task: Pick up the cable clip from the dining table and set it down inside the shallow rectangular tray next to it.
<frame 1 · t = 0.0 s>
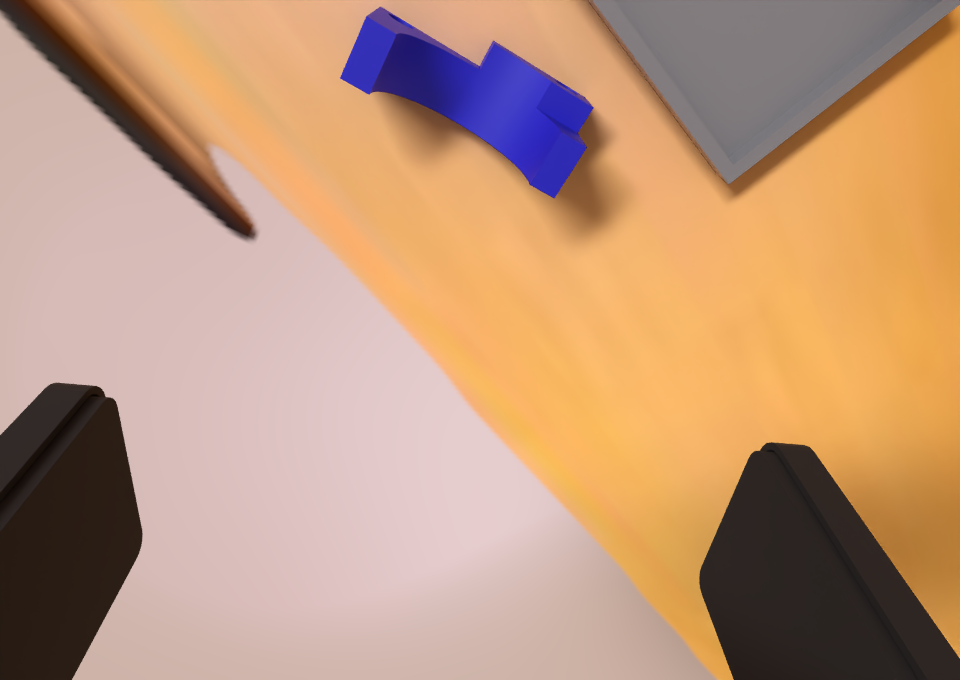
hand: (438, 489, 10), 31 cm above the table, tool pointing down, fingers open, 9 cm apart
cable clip: (472, 78, 37), on the table
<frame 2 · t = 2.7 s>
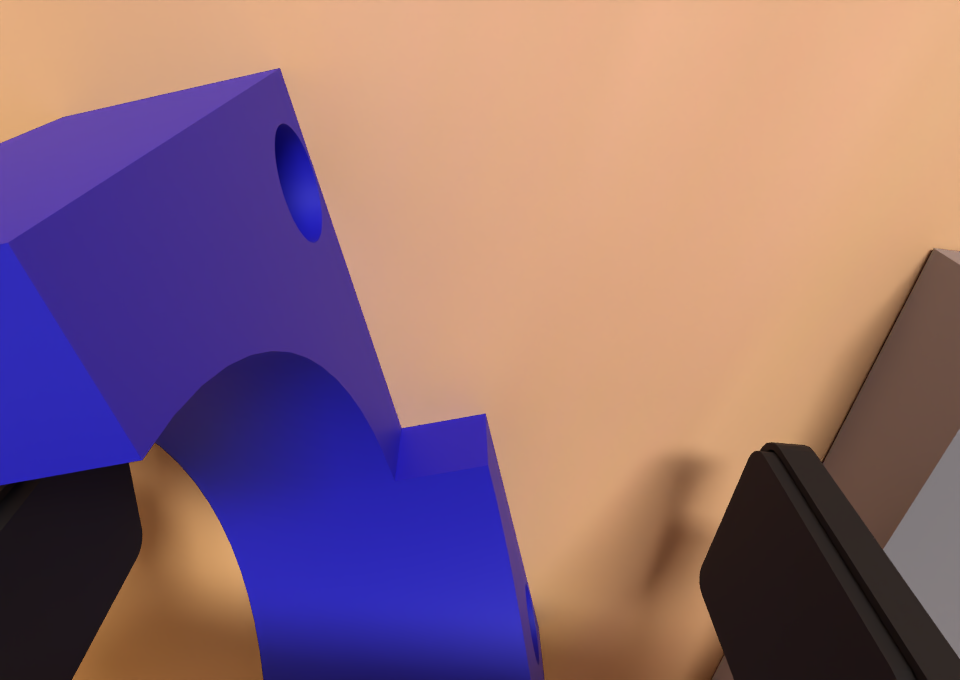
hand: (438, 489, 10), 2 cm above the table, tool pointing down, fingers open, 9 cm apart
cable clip: (362, 422, 12), on the table
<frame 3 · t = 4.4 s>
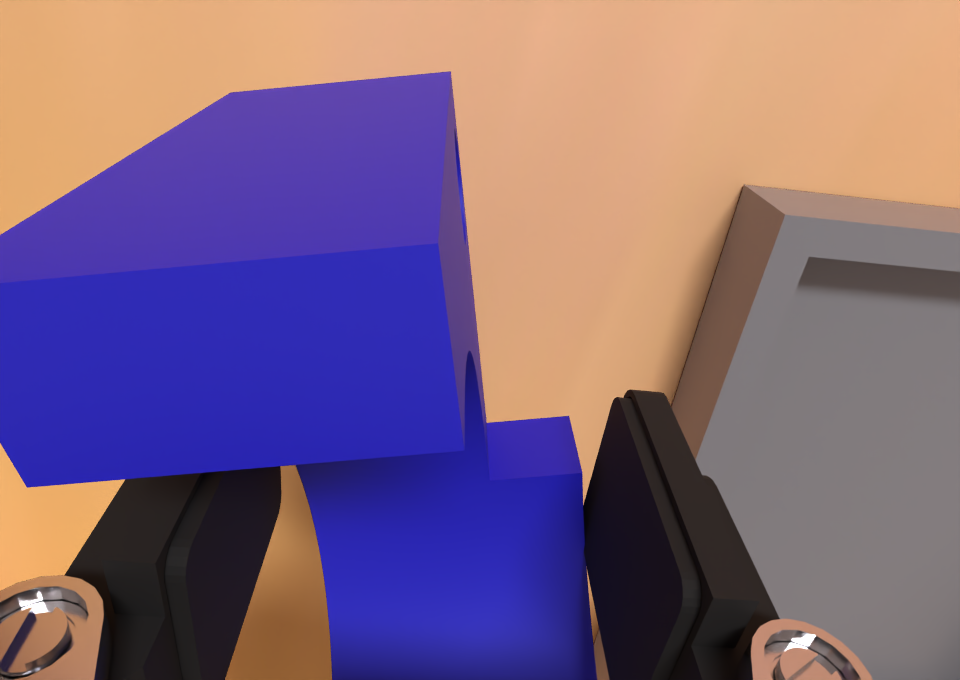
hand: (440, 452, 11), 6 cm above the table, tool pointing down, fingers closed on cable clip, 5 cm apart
shallow rectangular tray: (869, 503, 20), on the table
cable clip: (445, 419, 12), point 4 cm above the table, touching gripper
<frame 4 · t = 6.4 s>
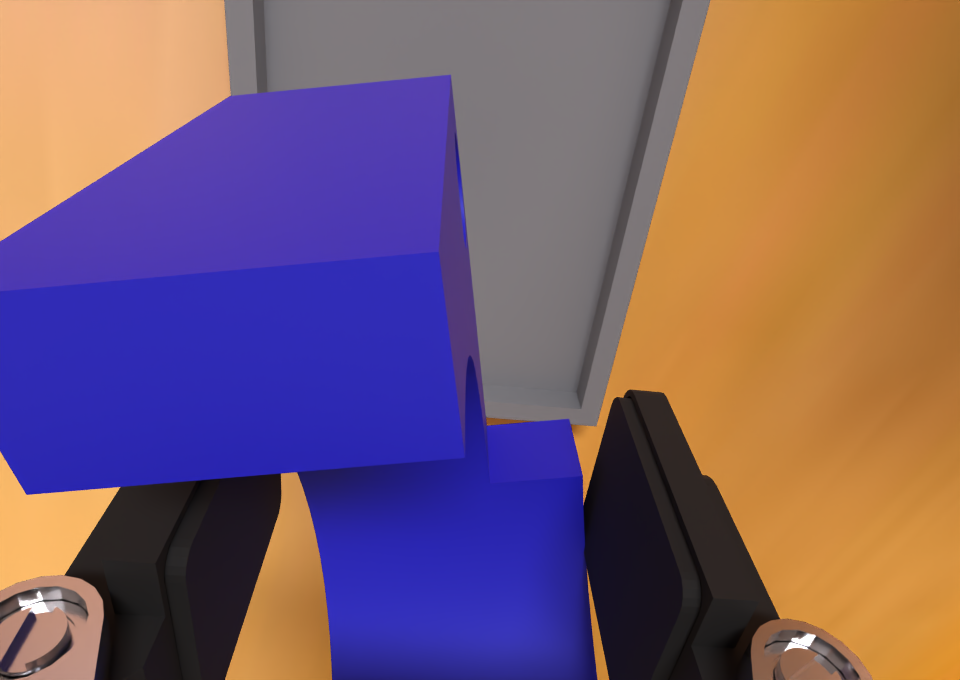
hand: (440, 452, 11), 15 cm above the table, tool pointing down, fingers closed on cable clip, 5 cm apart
shallow rectangular tray: (450, 181, 24), on the table
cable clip: (445, 422, 12), point 14 cm above the table, touching gripper
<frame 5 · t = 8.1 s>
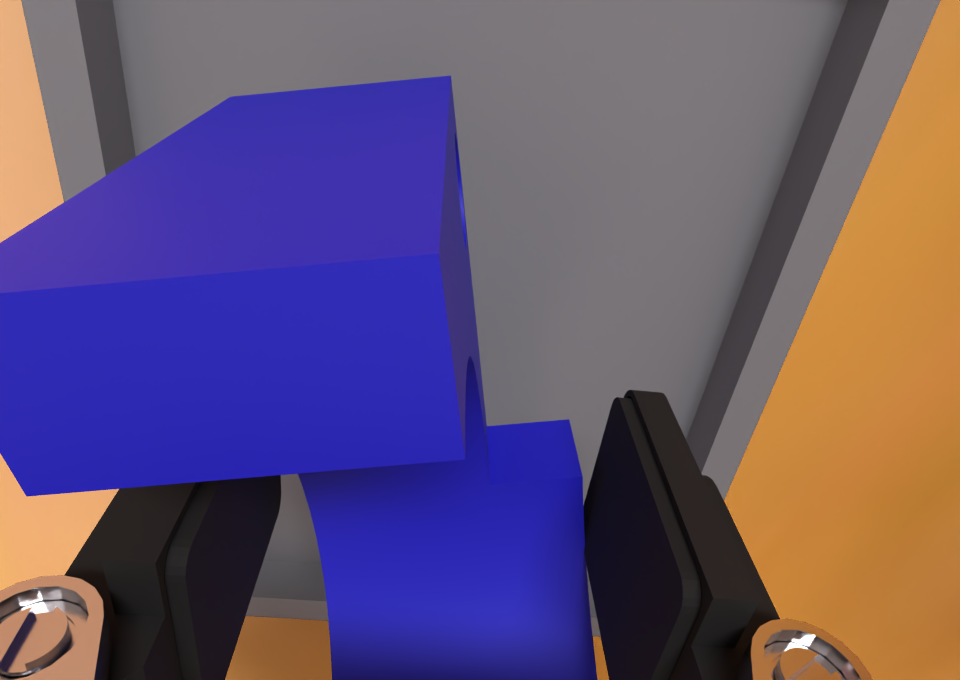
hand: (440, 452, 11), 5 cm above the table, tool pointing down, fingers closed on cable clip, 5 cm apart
shallow rectangular tray: (449, 301, 15), on the table
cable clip: (445, 422, 12), point 4 cm above the table, touching gripper
when the fingers open (3 cm above the table, at t = 9.4 s): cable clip drops 1 cm, resting on shallow rectangular tray.
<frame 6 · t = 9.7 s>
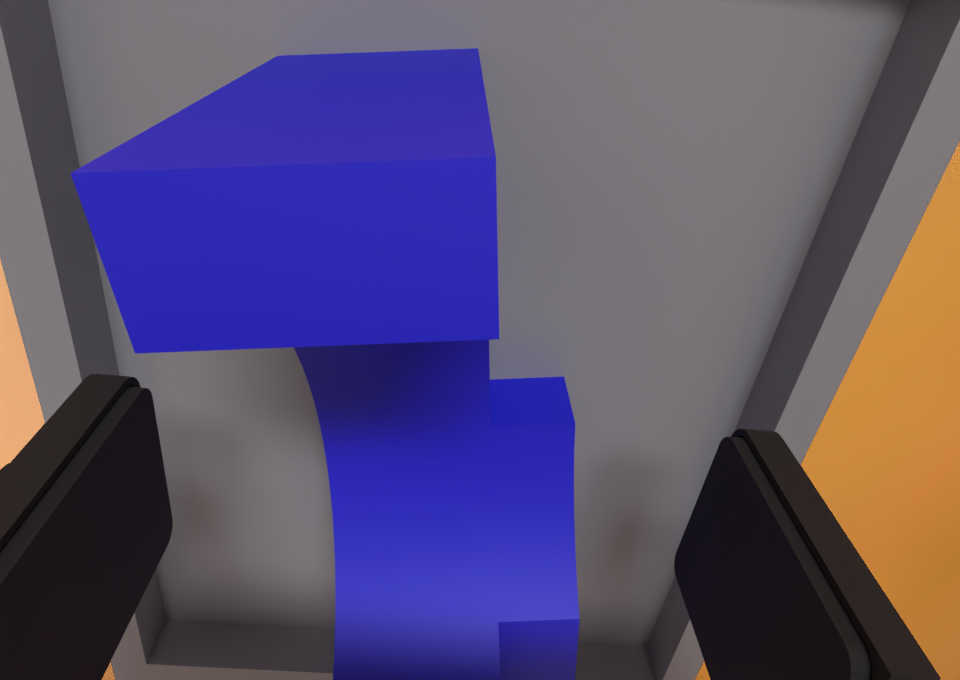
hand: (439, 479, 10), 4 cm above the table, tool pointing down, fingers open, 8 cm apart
shallow rectangular tray: (444, 347, 13), on the table
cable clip: (450, 375, 13), point 1 cm above the table, touching shallow rectangular tray
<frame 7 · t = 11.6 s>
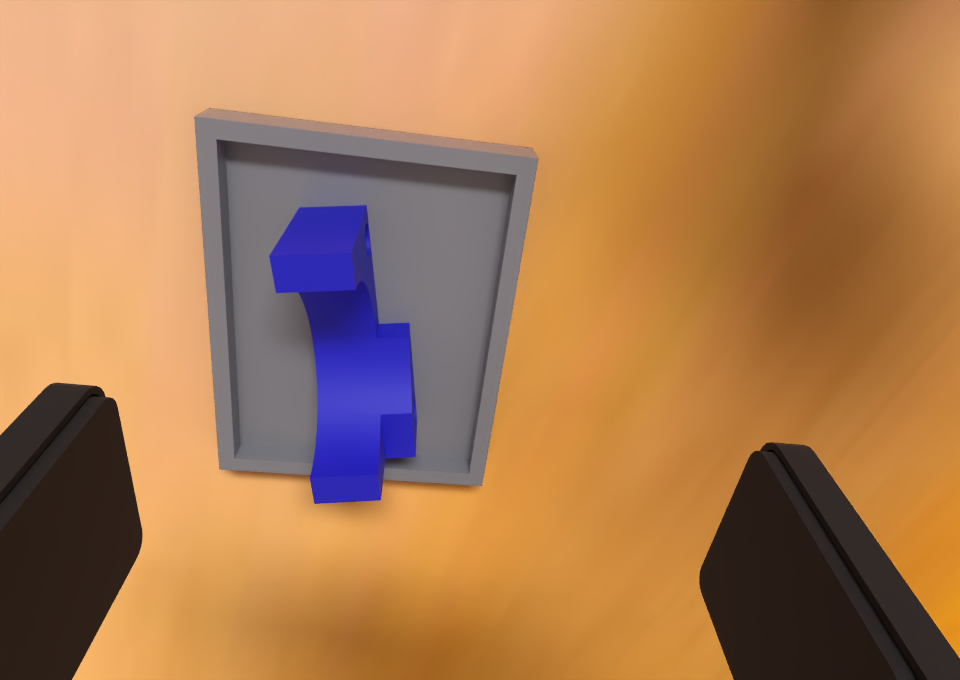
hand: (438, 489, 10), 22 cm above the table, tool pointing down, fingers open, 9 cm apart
shallow rectangular tray: (365, 312, 33), on the table
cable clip: (364, 322, 32), point 1 cm above the table, touching shallow rectangular tray
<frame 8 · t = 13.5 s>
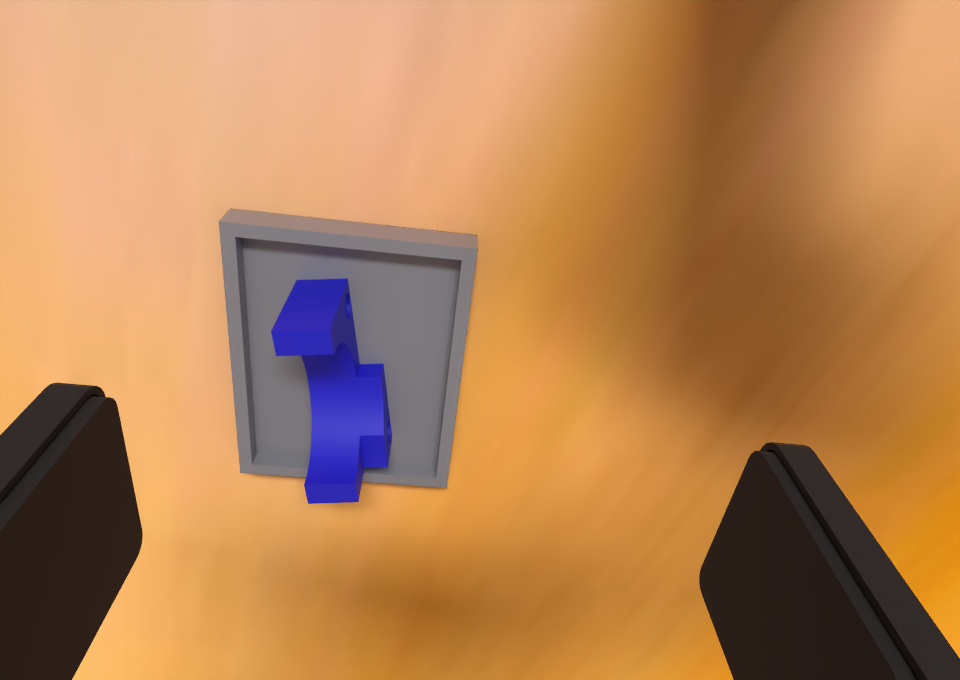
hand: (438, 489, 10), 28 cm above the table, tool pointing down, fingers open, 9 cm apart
shallow rectangular tray: (351, 354, 42), on the table
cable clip: (348, 362, 41), point 1 cm above the table, touching shallow rectangular tray
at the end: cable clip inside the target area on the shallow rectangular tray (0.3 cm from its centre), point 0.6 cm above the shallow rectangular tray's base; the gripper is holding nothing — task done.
